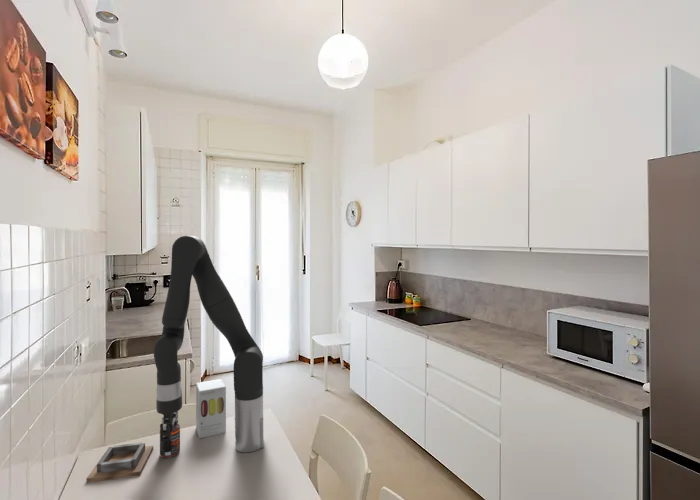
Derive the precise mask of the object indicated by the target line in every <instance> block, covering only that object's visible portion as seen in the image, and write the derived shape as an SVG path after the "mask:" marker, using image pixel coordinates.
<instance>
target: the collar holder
mask: <svg viewBox="0 0 700 500" xmlns="http://www.w3.org/2000/svg"><path fill="white" fill-rule="evenodd" d="M153 451H154V445H149V446H146V443H145V442H134V443H125V444H117V445H116V444H115V445H113V446H108V448H107V449H106V451H105V452H104V453H103V455H102V456H101V458H100V459H99V461H98V462H97V463H96V465H95V466H94V467H93V468H92V470H91V471H90V473H89V474H88V476H87V477H86V483H87V484H88V483H94V482H101V481H109V480H115V479H117V480H118V479H122V478H130V477H138V476H141V475H142V473H143V471H144V469H145V467H146V466H147V463H148V461H149V459H150V457H151V455H152V453H153Z"/></svg>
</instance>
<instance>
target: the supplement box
mask: <svg viewBox="0 0 700 500" xmlns="http://www.w3.org/2000/svg"><path fill="white" fill-rule="evenodd" d="M195 385H196V386H195V392H196V393H195V396H196V397H195V400H196V401H195V418H196V419H195V429H196V432H197V435H198V438H199V439H202V438H207V437H210V436H215V435H219V434H224V433H226V432H227V431H226V430H227V429H226V428H227V423H226V422H227V414H226V413H227V396H226V395H227V388H226V384H225V383H224V381H223V379H222V378H219V379H212V380H206V381H200V382H199V381H198V382H196V384H195Z"/></svg>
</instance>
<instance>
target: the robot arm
mask: <svg viewBox="0 0 700 500" xmlns="http://www.w3.org/2000/svg"><path fill="white" fill-rule="evenodd" d="M171 247H172V248H171V265H170V266H171V267H170V277H169V285H168V290H167V294H166V299H165V302H164V309H163V313H162V317H161V324H162V325H163V326H162V327H163V328H162V333H161V336H160V337H159V338H158V339H157V340H156V341H155V343H154V346H153V359H154V362H155V363H154V365H155V367H156V387H155V388H156V389H155V390H156V391H155V395H156V398H155V400H156V401H155V402H156V405H155V406H156V413H158V414H161V415H163V416H162V418H161V423H160V425H159V435H160V434H161V442H163V452H164V453H166V452H170V451H171V439H172V432H173V431H174V423H175V420H176V418H177V423H178V424H179V411H180V410H181V409H182V407H183V384H182V368H181V364H180V363H179V361H178V359H179V358H178V353H179V350H180V349H181V348H182V345H183V342H184V338H185V326H186V325H185V323H186V320H187V317H188V311H189V307H190V297H191V282H192V278H193V279H194V281H195V284H196V287H197V292H198V295H199V299H200V302H201V304H202V306H203V309H204V310H205V313H206V315H207V316H208V318H209V319H210V321H211V323H212V324H213V326H215V328H217V330H218V331H219V332H220V333H221V334H222V335H223V336H224V337H225V338H226V341H228V344H229V346H230V348H231V350H232V353H233V355H234V361H233V390H234V429H235V430H234V437H235V438H234V445H235V446H234V447H235V448H234V449H235V450H236V451H238V452H239V453H252V452H255V451H257V450H260V449H263V448H264V381H263V380H264V379H263V378H264V377H263V375H264V374H263V372H264V371H263V367H264V366H263V365H264V364H263V362H264V356H263V354H264V353H263V352H262V350H261V348H260V347H259V346H258V344H257V343H256V342H255V340H254V339H253V337H252V336H251V334H250V332H249V331H248V329H247V327H246V324H245V322H244V320H243V317H242V315H241V313H240V311H239V308H238V307H237V305H236V303H235V301H234V299H233V297H232V295H231V293H230V291H229V290H228V287H227V286H226V285H225V282H224V281H223V279H221V277H220V275H219V274H218V272H217V270H216V269H215V266H214V263H213V261H212V259H211V257H210V253H209V252H208V249H207V246H206V244H205V243H204V241H203V240H202V239H201V238H200V237H198V236H196V235H182V236H180V237H178V238H177V239H175V241H174V242H173V243H172V246H171ZM171 427H172V428H171ZM170 428H171V429H170ZM165 435H167V436H168V437H165Z"/></svg>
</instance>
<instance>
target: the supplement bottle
mask: <svg viewBox="0 0 700 500" xmlns="http://www.w3.org/2000/svg"><path fill="white" fill-rule="evenodd" d="M171 428H172V427H171ZM171 428H170V429H171ZM165 437H168V436H167V435H165ZM180 451H181V425H180V424H179V422H178V423H177V418H176V420H175V423H174V431H173V432H172V439H171V451H170V452H166V453H164V452H163V442H161V434H160V433H159V456H160V457H161V458H163V459H170V458H174V457H175V456H177V455H178V454H179V453H180Z"/></svg>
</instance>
